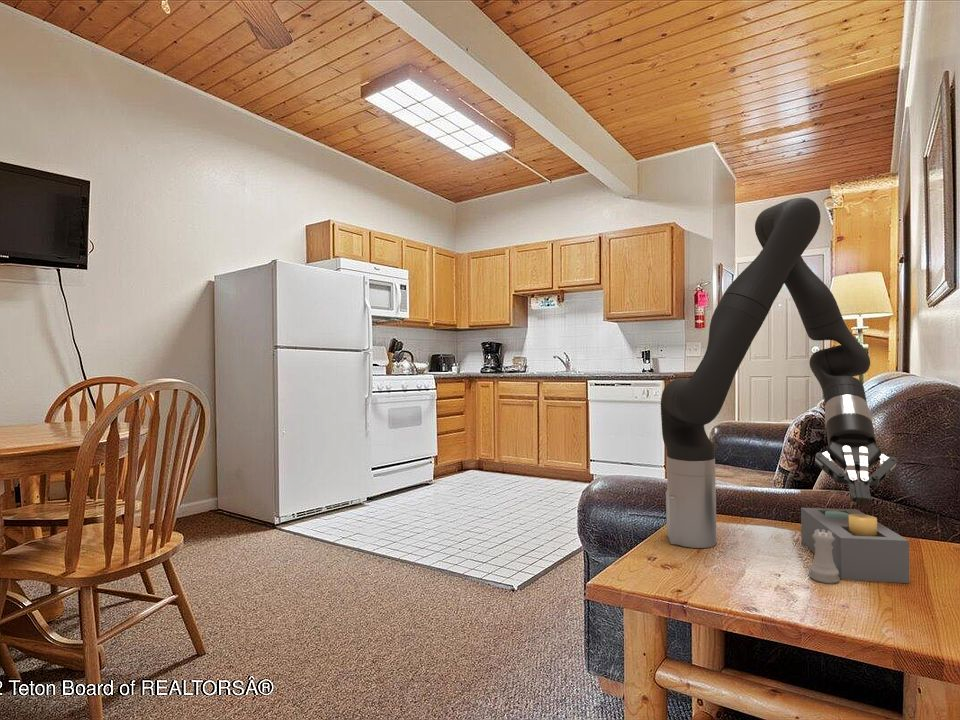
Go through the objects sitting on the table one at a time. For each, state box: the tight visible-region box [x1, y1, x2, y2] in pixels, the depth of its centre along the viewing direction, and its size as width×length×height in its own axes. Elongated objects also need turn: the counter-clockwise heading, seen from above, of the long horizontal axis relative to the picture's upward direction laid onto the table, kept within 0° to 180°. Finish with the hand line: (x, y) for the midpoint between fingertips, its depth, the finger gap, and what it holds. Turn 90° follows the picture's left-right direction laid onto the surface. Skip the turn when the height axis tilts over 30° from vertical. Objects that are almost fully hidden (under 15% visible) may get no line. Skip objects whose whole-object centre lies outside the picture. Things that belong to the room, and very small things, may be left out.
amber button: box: [849, 513, 878, 537], centre depth 94 cm, size 4×4×4 cm
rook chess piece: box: [808, 529, 841, 585], centre depth 91 cm, size 4×4×8 cm
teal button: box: [825, 511, 849, 519], centre depth 103 cm, size 4×4×4 cm
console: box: [800, 507, 911, 584], centre depth 99 cm, size 10×18×7 cm, turn 168°
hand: (861, 503), depth 94 cm, fingers closed
